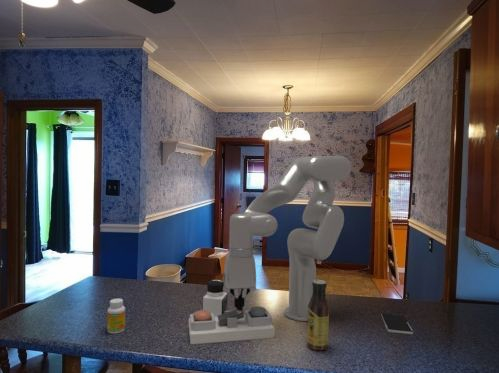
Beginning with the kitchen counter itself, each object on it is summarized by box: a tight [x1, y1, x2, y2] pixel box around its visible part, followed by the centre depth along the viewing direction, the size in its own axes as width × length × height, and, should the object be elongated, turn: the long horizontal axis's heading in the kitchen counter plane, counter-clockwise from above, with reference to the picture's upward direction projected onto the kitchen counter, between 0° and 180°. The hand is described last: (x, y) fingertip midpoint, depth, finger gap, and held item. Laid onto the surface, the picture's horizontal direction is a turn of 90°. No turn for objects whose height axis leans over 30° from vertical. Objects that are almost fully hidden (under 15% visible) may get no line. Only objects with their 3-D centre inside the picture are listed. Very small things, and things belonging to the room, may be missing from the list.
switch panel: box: [188, 308, 276, 345], centre depth 115 cm, size 26×12×6 cm, turn 102°
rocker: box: [217, 308, 244, 325], centre depth 115 cm, size 8×4×2 cm, turn 102°
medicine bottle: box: [202, 279, 228, 317], centre depth 130 cm, size 7×7×12 cm
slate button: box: [249, 305, 266, 318], centre depth 117 cm, size 5×5×2 cm
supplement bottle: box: [106, 298, 126, 335], centre depth 115 cm, size 5×5×10 cm
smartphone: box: [380, 312, 414, 335], centre depth 124 cm, size 8×1×15 cm
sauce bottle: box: [306, 279, 330, 351], centre depth 106 cm, size 7×6×20 cm
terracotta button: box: [194, 309, 211, 322], centre depth 113 cm, size 5×5×2 cm
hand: (239, 308), depth 115 cm, fingers closed
